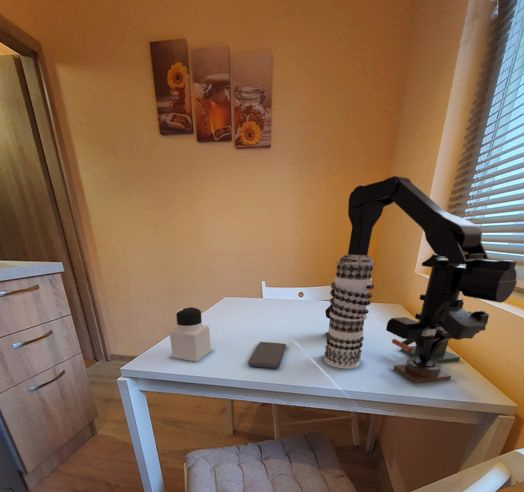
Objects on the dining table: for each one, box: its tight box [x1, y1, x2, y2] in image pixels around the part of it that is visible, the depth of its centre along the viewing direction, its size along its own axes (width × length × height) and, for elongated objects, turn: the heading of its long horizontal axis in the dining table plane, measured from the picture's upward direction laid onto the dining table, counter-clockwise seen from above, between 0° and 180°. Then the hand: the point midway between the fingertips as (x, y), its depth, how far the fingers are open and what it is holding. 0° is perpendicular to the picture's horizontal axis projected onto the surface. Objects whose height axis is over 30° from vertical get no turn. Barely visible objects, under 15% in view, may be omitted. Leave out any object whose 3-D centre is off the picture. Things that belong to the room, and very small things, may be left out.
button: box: [414, 359, 433, 368], centre depth 62 cm, size 4×4×2 cm
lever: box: [391, 325, 430, 352], centre depth 69 cm, size 12×6×2 cm, turn 104°
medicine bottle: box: [169, 306, 212, 363], centre depth 69 cm, size 7×7×12 cm
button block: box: [393, 357, 452, 385], centre depth 62 cm, size 9×7×3 cm
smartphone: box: [247, 341, 287, 369], centre depth 71 cm, size 8×1×15 cm
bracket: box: [400, 325, 461, 364], centre depth 71 cm, size 10×9×10 cm
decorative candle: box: [324, 254, 376, 369], centre depth 64 cm, size 9×9×25 cm
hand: (423, 362), depth 62 cm, fingers closed, pressing on button
